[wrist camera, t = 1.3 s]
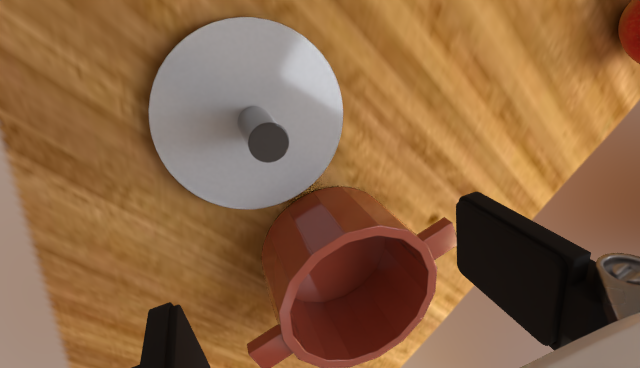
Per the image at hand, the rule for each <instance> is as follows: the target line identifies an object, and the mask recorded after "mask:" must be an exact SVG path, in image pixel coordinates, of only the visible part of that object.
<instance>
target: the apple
mask: <svg viewBox="0 0 640 368" xmlns="http://www.w3.org/2000/svg"><path fill="white" fill-rule="evenodd" d="M618 33H619V38H620V41H621V44H622V46H623V48H624V50H625V51H626V53H627V54H628V55H629V56H630V57H631V58H632V59H633V60H634V61H636V62H637V63H639V64H640V0H631V2H630V3H629V4H628V5H627V6H626V8H625V9H624V11H623V13H622V15H621V18H620V21H619V26H618Z"/></svg>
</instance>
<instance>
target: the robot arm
mask: <svg viewBox="0 0 640 368" xmlns="http://www.w3.org/2000/svg"><path fill="white" fill-rule="evenodd" d="M456 232H457V266H458V269H459V271H460V272H461V273H462V274H463V275H464V276H465V277H466V278H467V279H468V280H469V281H471V282H472V283H473V284H474V285H475V286H476V287H477V288H479V289H480V290H481V291H482V292H483V293H484V294H486V295H487V296H488V297H489V298H490V299H491V300H492V301H493V302H495V303H496V304H497V305H498V306H499V307H500V308H501V309H502V310H504V311H505V312H506V313H507V314H508V315H509V316H510V317H512V318H513V319H514V320H515V321H516V322H517V323H518V324H520V325H521V326H522V327H523V328H524V329H525V330H526V331H528V332H529V333H530V334H531V335H532V336H533V337H534V338H536V339H537V340H538V341H539V342H540V343H542V344H543V345H545V346H548V345H549V346H550V347H551V348H552V349H553V350H554V351H553V352H551V353H549V354H547V355H545V356H543V357H541V358H539V359H537V360H535V361H533V362H531V363H529V364H527V365H525V366H523V367H521V368H640V257H639V256H635V255H631V254H624V253H610V254H605V255H603V256H601V257H599V258H598V260H597V261H596V262H595V261H593V260H591V259H590V255H591V252H589V251H587V250H585V249H583V248H581V247H579V246H578V245H576V244H574V243H572V242H570V241H568V240H567V239H565V238H563V237H561V236H559V235H557V234H556V233H554V232H552V231H550V230H548V229H546V228H544V227H543V226H541V225H539V224H537V223H535V222H533V221H531V220H530V219H528V218H526V217H524V216H522V215H520V214H519V213H517V212H515V211H513V210H511V209H509V208H507V207H506V206H504V205H502V204H500V203H498V202H496V201H494V200H493V199H491V198H489V197H487V196H485V195H483V194H482V193H479V192H473V193H470V194H468V195H465V196H462V197H461V198H460V199H459V202H458V203H457V204H456ZM132 368H210V365H209V363H208V361H207V359H206V357H205V355H204V353H203V351H202V349H201V347H200V345H199V343H198V341H197V338H196V336H195V334H194V332H193V330H192V328H191V326H190V324H189V322H188V320H187V318H186V316H185V314H184V312H183V310H182V308H181V306H180V305H176V306H173V304H172V303H170V302H169V303H166V304H164V305H161V306H158V307H155V308H153V309H150V310H149V312H148V318H147V324H146V330H145V337H144V343H143V349H142V355H141V361H140V365H138V366H135V367H132Z"/></svg>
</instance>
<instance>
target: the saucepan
mask: <svg viewBox="0 0 640 368" xmlns="http://www.w3.org/2000/svg"><path fill="white" fill-rule="evenodd" d="M455 246H457V236H456V233H455V230H454V227H453V224H452V222H451V221H449V220H448V219H446V218H445V217H444V218H442V219H441V220H439V221H438V222H436V223H434V224H433V225H431V226H430V227H428V228H427V229H425V230H424V231H422V232H421V233H419V234H417V235H416V234H415V233H414V232H413V231H412V230H411V229H409V228H408V227H407V226H406V225H405V224H404V223H403V222H401V221H400V220H399V219H398V218H397V217H396V216H395V215H394V214H392V213H391V212H390V211H389V210H388V209H387V208H386V207H384V206H383V205H382V204H381V203H379V202H378V201H377V200H376V199H374V198H373V197H372V196H370V195H369V194H368V193H366V192H363V191H361V190H357V189H354V188H348V187H331V188H325V189H321V190H317V191H314V192H312V193H309V194H307V195H305V196H303V197H301V198H299V199H298V200H296V201H295V202H294V203H292V204H291V205H290V206H289V207H287V208H286V209H285V210H284V211H283V212H282V213H281V214H280V215H279V216H278V218H277V219H276V220H275V222H274V223H273V225H272V226H271V228H270V230H269V232H268V234H267V236H266V239H265V241H264V245H263V249H262V256H261V260H262V268H263V272H264V279H265V283H266V286H267V290H268V293H269V296H270V300H271V303H272V306H273V310H274V313H275V316H276V320H277V323H278V325H276V326H274V327H273V328H271V329H270V330H268V331H267V332H265V333H264V334H262V335H260V336H259V337H257V338H256V339H254V340H253V341H251V342H250V343H248V344H247V348H248V353H249V355H250V356H251V357H252V359H253V360H254V361H255V362H256V363H257V364H258V365H259V366H260V367H261V368H271V367H273V366H274V365H276V364H277V363H279V362H280V361H282V360H283V359H285V358H287V357H288V356H290V355H291V354H293V353H294V354H295V355H296V357H297V358H298V359H299V360H302V361H304V362H307V363H310V364H312V365H315V366H318V367H320V368H346V367H352V366H355V365H358V364H361V363H364V362H366V361H369V360H372V359H375V358H378V357H380V356H381V355H383V354H384V353H386V352H387V351H389V350H390V349H391V348H393V347H394V346H396V345H397V344H399V343H400V342H402V341H403V340H404V339H405V338H406V337H407V336H408V335H409V334H410V332H411V331H412V330H413V329H414V328H415V327H416V326H417V325H418V323H419V322H420V321H421V320H422V319H423V317H424V315H425V313H426V311H427V309H428V307H429V305H430V302H431V300H432V298H433V296H434V294H435V288H436V276H437V266H436V263H435V261H434V260H435V259H437V258H438V257H440V256H441V255H443V254H444V253H446V252H448V251H449V250H451V249H452V248H454V247H455Z"/></svg>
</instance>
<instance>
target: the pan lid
mask: <svg viewBox="0 0 640 368" xmlns="http://www.w3.org/2000/svg"><path fill="white" fill-rule="evenodd" d="M148 110H149V126H150V131H151V136H152V139H153V142H154V145H155V148H156V151H157V153H158V155H159V157H160V159H161V161H162V162H163V164H164V165H165V167H166V168H167V169H168V171H169V172H170V173H171V174H172V176H173V177H174V178H175V179H176V180H177V181H178V182H179V183H180V184H181V185H183V186H184V187H185V188H186V189H187V190H189V191H190V192H192V193H193V194H195V195H196V196H198V197H200V198H202V199H204V200H206V201H208V202H211V203H214V204H216V205H219V206H223V207H228V208H234V209H259V208H266V207H270V206H274V205H277V204H280V203H282V202H285V201H288V200H289V199H291V198H293V197H295V196H297V195H299V194H300V193H301V192H303V191H304V190H306V189H307V188H308V187H309V186H310V185H312V184H313V183H314V182H315V181H316V180H317V179H318V178H319V177H320V175H321V174H322V173H323V172H324V170H325V169H326V168H327V166H328V165H329V163H330V161H331V159H332V158H333V156H334V154H335V151H336V149H337V146H338V143H339V140H340V136H341V131H342V125H343V104H342V97H341V92H340V88H339V85H338V82H337V79H336V76H335V74H334V72H333V70H332V68H331V66H330V65H329V63H328V62H327V60H326V59H325V57H324V56H323V54H322V53H321V52H320V51H319V50H318V49H317V48H316V47H315V46H314V45H313V44H312V43H311V42H310V41H309V40H308V39H306V38H305V37H304V36H303V35H301V34H299V33H298V32H296V31H295V30H293V29H291V28H289V27H287V26H285V25H283V24H281V23H277V22H274V21H271V20H268V19H261V18H255V17H236V18H228V19H223V20H220V21H216V22H212V23H210V24H208V25H205V26H203V27H201V28H199V29H197V30H196V31H194V32H192V33H191V34H189V35H188V36H186V37H185V38H184V39H183V40H182V41H181V42H179V43H178V44H177V45H176V46H175V47H174V48H173V50H172V51H171V52H170V53H169V54H168V55H167V57H166V58H165V60H164V62H163V63H162V65H161V66H160V68H159V70H158V72H157V75H156V77H155V79H154V82H153V86H152V89H151V93H150V100H149V109H148Z"/></svg>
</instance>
